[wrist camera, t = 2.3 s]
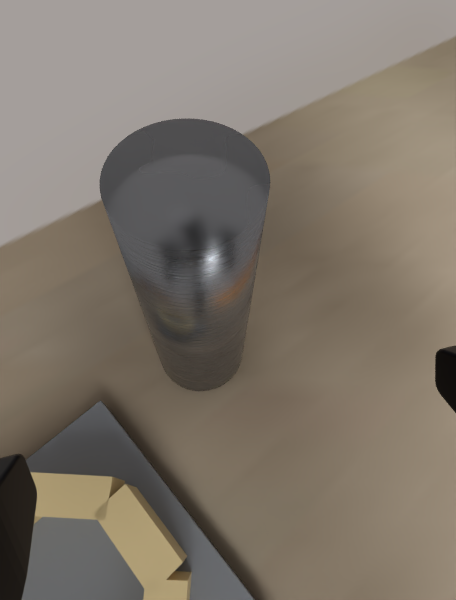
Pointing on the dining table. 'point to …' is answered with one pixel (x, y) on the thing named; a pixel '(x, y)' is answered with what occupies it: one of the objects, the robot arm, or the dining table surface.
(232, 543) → the dining table surface
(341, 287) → the dining table surface
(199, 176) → the shiny metal cylinder
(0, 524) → the robot arm
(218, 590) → the nut plate
